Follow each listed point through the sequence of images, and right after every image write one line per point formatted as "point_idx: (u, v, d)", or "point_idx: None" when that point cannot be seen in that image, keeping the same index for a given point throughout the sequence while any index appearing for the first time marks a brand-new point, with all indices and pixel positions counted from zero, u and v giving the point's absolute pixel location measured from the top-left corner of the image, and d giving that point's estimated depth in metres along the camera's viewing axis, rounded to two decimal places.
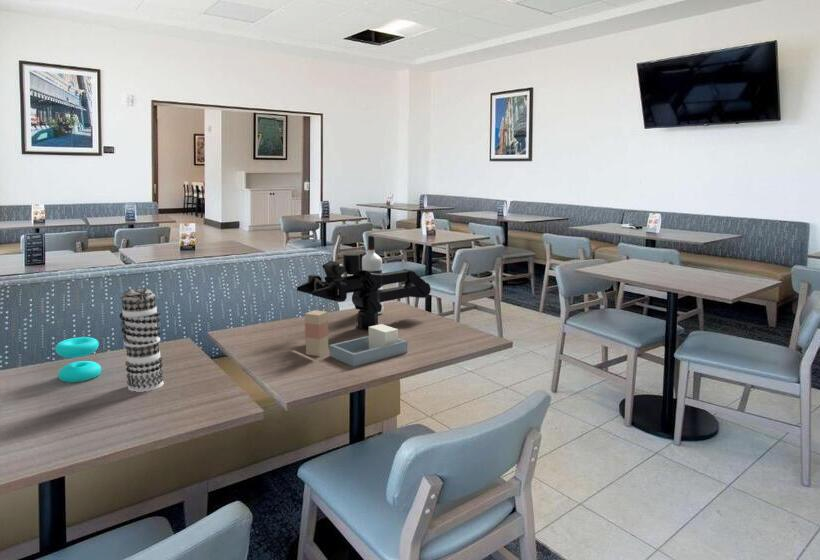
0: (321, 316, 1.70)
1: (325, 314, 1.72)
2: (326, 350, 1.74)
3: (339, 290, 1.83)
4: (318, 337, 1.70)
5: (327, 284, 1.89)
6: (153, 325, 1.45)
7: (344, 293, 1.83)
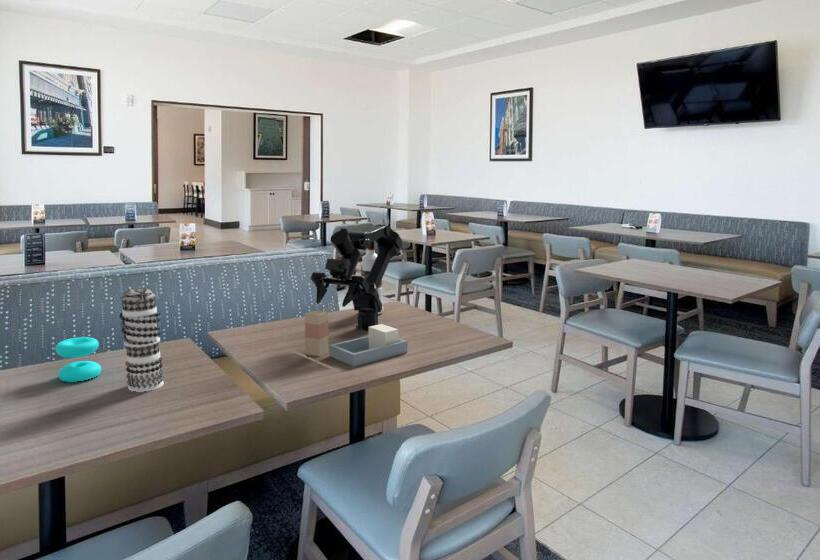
0: (321, 316, 1.70)
1: (325, 314, 1.72)
2: (326, 350, 1.74)
3: (362, 286, 1.79)
4: (318, 337, 1.70)
5: (339, 280, 1.82)
6: (153, 325, 1.45)
7: (366, 284, 1.80)
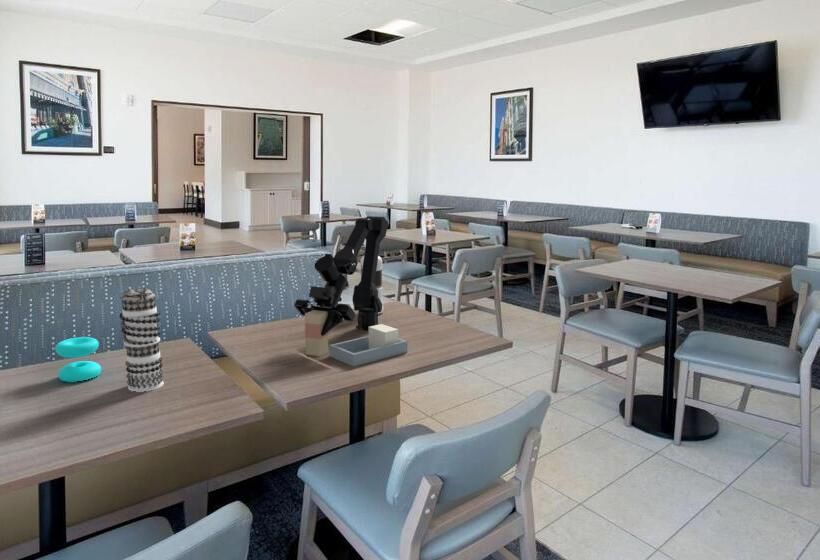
0: (321, 316, 1.70)
1: (325, 314, 1.72)
2: (326, 350, 1.74)
3: (347, 314, 1.71)
4: (318, 337, 1.70)
5: (329, 308, 1.74)
6: (153, 325, 1.45)
7: (352, 312, 1.73)
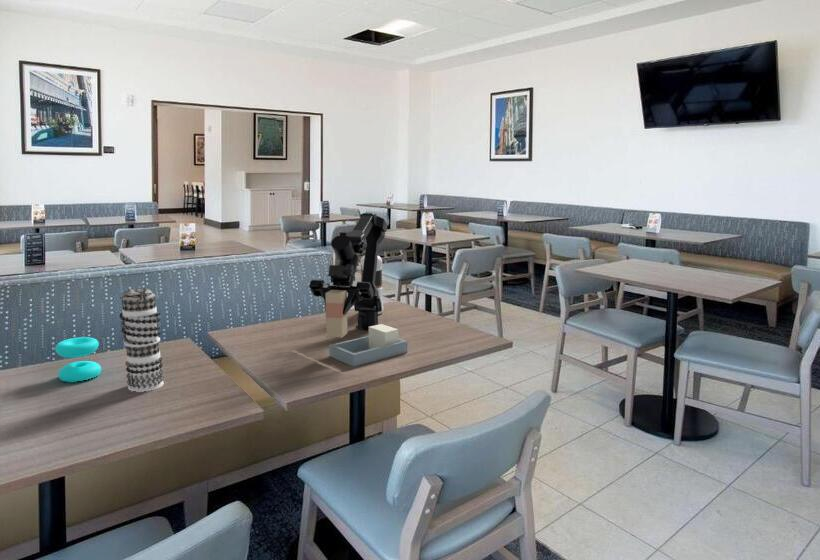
0: (342, 295, 1.68)
1: (345, 293, 1.70)
2: (346, 329, 1.72)
3: (368, 292, 1.71)
4: (340, 316, 1.68)
5: (348, 287, 1.72)
6: (153, 325, 1.45)
7: (372, 290, 1.72)
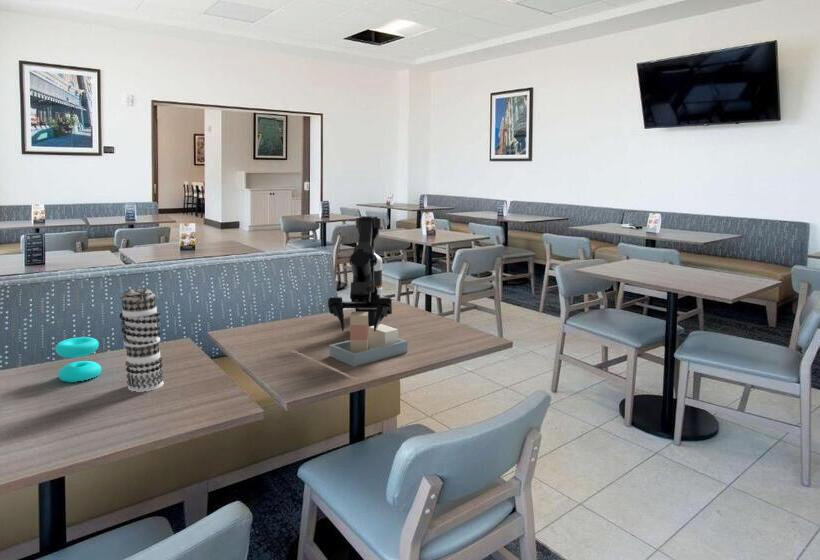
0: (367, 316, 1.67)
1: (367, 314, 1.70)
2: None
3: (389, 307, 1.72)
4: (365, 338, 1.67)
5: (361, 303, 1.72)
6: (153, 325, 1.45)
7: None
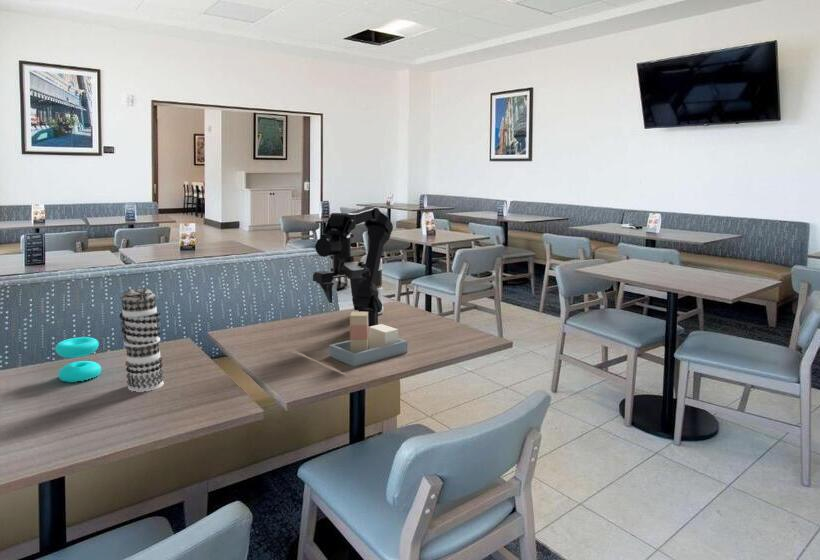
0: None
1: (367, 314, 1.70)
2: None
3: None
4: (365, 338, 1.67)
5: (345, 275, 1.85)
6: (153, 325, 1.45)
7: None
